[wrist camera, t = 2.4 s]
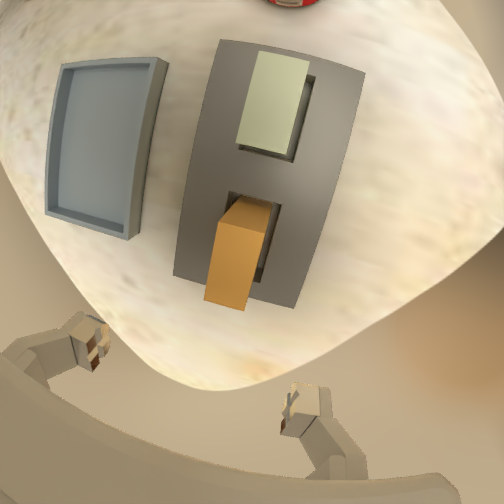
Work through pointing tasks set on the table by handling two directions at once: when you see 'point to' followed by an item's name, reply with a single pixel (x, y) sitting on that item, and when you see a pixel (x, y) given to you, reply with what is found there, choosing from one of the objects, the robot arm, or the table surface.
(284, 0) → the soda can
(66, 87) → the parts tray
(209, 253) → the block
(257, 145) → the block
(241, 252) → the block
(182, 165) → the table surface
